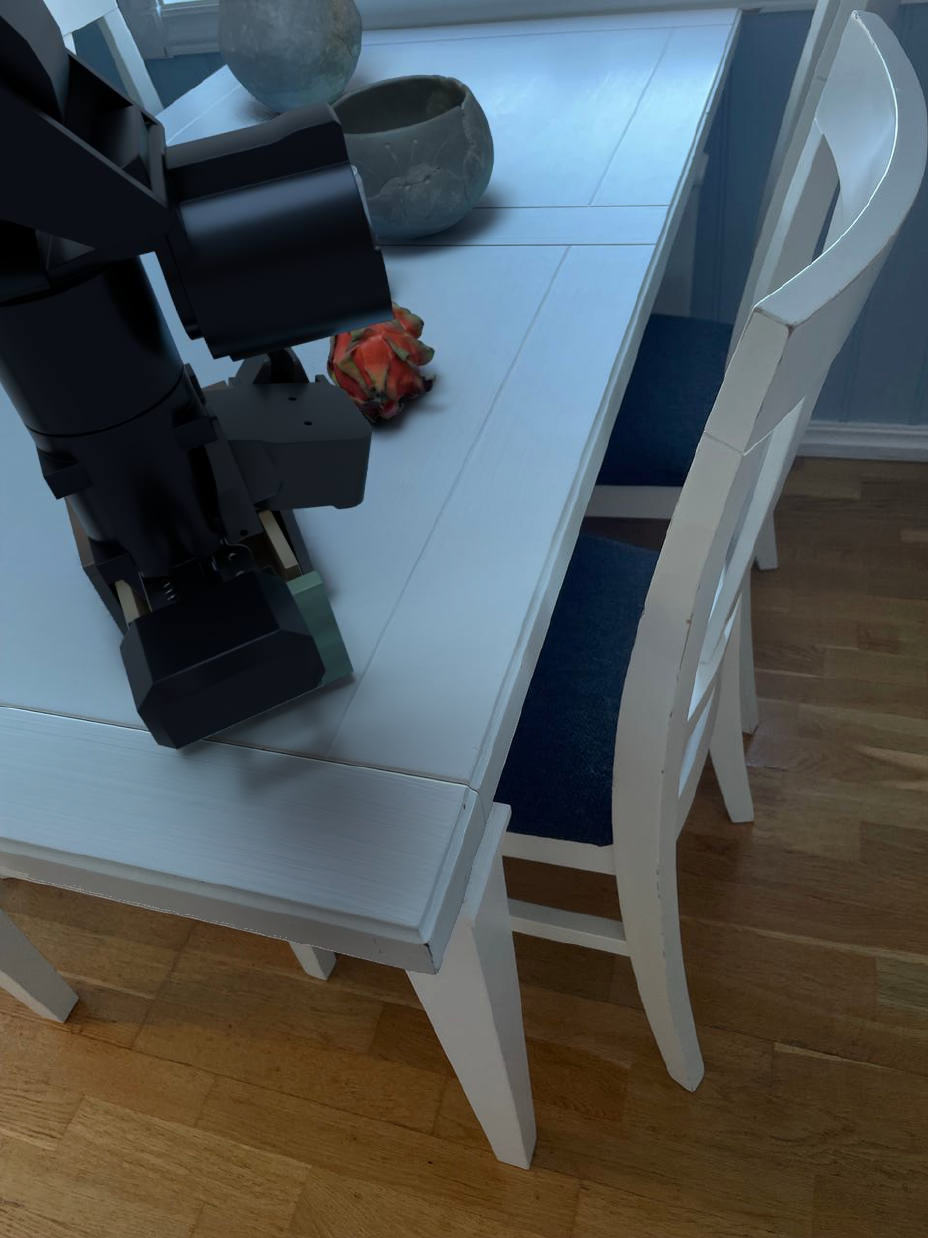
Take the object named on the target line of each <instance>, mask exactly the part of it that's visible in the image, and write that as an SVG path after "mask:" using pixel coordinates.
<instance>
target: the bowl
mask: <svg viewBox="0 0 928 1238" xmlns="http://www.w3.org/2000/svg"><path fill="white" fill-rule="evenodd" d="M331 106H332V108H333V110H334V112H335V113H336V115H337V117H338V119H339V121H340V123H341V125H342V129H343V134H344V138H345V143H346V147H347V152H348V156H349V160H350V163H351V165H352V166H354V167H356V169H357V172H358V174H359V176H360V177H361V179H362V183H363V188H364V193H365V197H366V202H367V207H368V211H369V216H370V221H371V225H372V229H373V231H374V233H375V235H376V237H382V238H388V239H398V240H399V239H400V240H401V239H402V240H403V239H405V240H406V239H407V240H408V239H416V238H422V237H426V236H431V235H433V234H436V233H439V232H440V231H445V230H447V229H448V228H450V227H452V226H454V225H456V224H457V223H458V222H459V221H461V220H462V219H463V218H464V217H466V216H467V215H468V214H470V212H471V211H472V210H473V209H474V208H475V207H476V206H477V204H478V203H479V202H480V200H481V199H482V198H483V196H484V194H485V192H486V190H487V188H488V186H489V184H490V180H491V178H492V174H493V170H494V165H495V147H494V146H495V145H494V140H493V136H492V132H491V128H490V127H491V126H490V124H489V123H490V122H489V121H488V118H487V116H486V113H485V111H484V110H483V108H482V106H481V104H480V102H479V101H478V99H477V98H476V96H475V95H474V93H473V91H472V90H471V88H470V87H469V86H468V85H467V84H465V83H463V82H462V81H461V80H459V79H458V78H456V77H452V76H448V77H447V76H445V75H440V74H411V75H404V76H403V75H402V76H396V77H393V78H387V79H383V80H378V81H375V82H372V83H368V84H367V85H364V86H361V87H359V88H357V89H354V90H352V91H350V92H348V93H346V94H345V95H343V96H342V97H339V98H338V99H337V100H336V101H335V102H334V103H333V104H331Z"/></svg>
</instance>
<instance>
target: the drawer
mask: <svg viewBox="0 0 928 1238" xmlns="http://www.w3.org/2000/svg"><path fill="white" fill-rule="evenodd" d="M255 511H256V513H257V516H258V519H259V521H260V524H261V526H262V529H263V532H261V533H258V534H256V535H253V536H251V537H248V538H246V539H243V540H241V541H238V542H237V543H236V544H241V545H245V546H247V547H248V548H249V549H250V551H251V553H252V555H253V557H254V559H255V561H256V563H257V566H258V568H259V569H261V568H264V567H266V566H269V565H271V566H272V568H273V570H274V572H275V574H276V576H277V577H280V578H284V579H285V581H286V583H287V585H288V587H289V589H290V591H291V593H292V595H293V597H294V599H295V601H296V603H297V605H298V607H299V609H300V611H301V614H302V616H303V618H304V620H305V622H306V624H307V626H308V628H309V630H310V632H311V634H312V636H313V638H314V641H315V643H316V646H317V648H318V651H319V654H320V656H321V659H322V661H323V664H324V667H325V669H326V672H325V674H324V676H323V678H322V679H321V681H320V683H319V685H318V686H317V688H316V689H313V690H311V691H309V692H307V693H304V694H302V695H300V696H297V697H295V698H293V699H291V700H288V701H286V702H284V703H282V704H279V705H277V706H275V707H273V708H270V709H268V710H266V711H264V712H261V713H259V714H257V715H254V716H252V717H250V718H248V719H245V720H243V721H241V722H239V723H236V724H234V725H232V726H230V727H227V728H225V729H223V730H221V731H218V732H216V733H214V734H211V735H209V736H207V737H205V738H202V739H200V740H198V741H201V740H203V739H207V738H209V737H211V736H213V735H216V734H218V733H220V732H222V731H225V730H227V729H229V728H232V727H234V726H236V725H238V724H241V723H242V722H245V721H248V720H250V719H252V718H254V717H256V716H259V715H261V714H264V713H266V712H268V711H270V710H272V709H274V708H277V707H279V706H281V705H283V704H286V703H288V702H290V701H293V700H295V699H297V698H299V697H301V696H303V695H306V694H308V693H310V692H312V691H315V690H317V689H319V688H322V687H324V686H325V685H327V684H329V683H332V682H334V681H336V680H339V679H340V678H343V677H345V676H348V675H350V674H352V673H355V670H354V668H353V664H352V662H351V659H350V656H349V653H348V649H347V647H346V645H345V641H344V639H343V636H342V633H341V630H340V627H339V625H338V621H337V619H336V616H335V613H334V610H333V607H332V605H331V602H330V599H329V596H328V592H327V590H326V588H325V584H324V582H323V580H322V578H321V576H320V575H319V572H318V571H317V570H316V569H314V571H312V572H310V573H308V574H305V575H302V572H301V570H300V567H299V564H298V562H297V560H296V558H295V556H294V554H293V553H292V551H291V549H290V547H289V545H288V543H287V541H286V539H285V537H284V535H283V533H282V532H281V530H280V528H279V526H278V524H277V522H276V520H275V518H274V516H273V514H272V512H271V511H269V510H263V509H258V510H255ZM115 585H116V589H117V592H118V595H119V599H120V602H121V606H122V609H123V612H124V616H125V619H126V623H127V626H128V623H129V622H132V621H133V620H134V619H135V618H138V617H140V616H143V615H145V614H148V613H150V612H151V610H150V607H149V604H148V601H147V600H145V599H144V598H143V597H142V596H141V595H139V594H138V593H137V592H136V591H135V590H133V589H132V588H131V587H130V586H129V585H127V584H126V583H125V582H124V581H123V580H120V581H118V582H115ZM128 629H129V626H128ZM119 653H120V657H121V661H122V664H123V667H124V668H125V666H124V663H123V659H122V655H121V652H120V651H119ZM198 741H197V742H198ZM194 743H195V742H193V743H191V744H189V745H192V744H194ZM189 745H188V746H189ZM185 747H186V746H184V747H182V748H180V749H183V748H185ZM180 749H175V750H176V751H178V750H180Z"/></svg>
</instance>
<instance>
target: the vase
mask: <svg viewBox="0 0 928 1238" xmlns="http://www.w3.org/2000/svg"><path fill="white" fill-rule="evenodd" d="M217 12H218V13H217V27H216V29H217V30H216V31H217V33H216V35H217V36H216V39H217V46H218V50H219V52H220V55H221V57H222V59H223V60H224V63H225V64H226V67H227V68H228V69H229V71H230V72H231V73H232V75H233V76H234V78H235V79H236V80H237V81H238V83H239V84H240V85H241V86H242V87H243V88H244V89H245V90H246V91H247V92H248V93H249V94H250V95H251V96H252V97H253V98H254V99H256V100H257V101H258V102H260V103H261V104H262V105H264V106H265V107H267V108H269V109H270V110H271V111H274V112H275V113H277V114H279V115H281V114H282V113H284V112H286V111H289V110H292V109H295V108H298V107H302V106H306V105H310V104H314V103H318V102H323V101H325V102H326V103H328V104H329V105H332V104H333V103H334V102H336V101H337V100H339V99H340V98H341V95H342V94H343V92H344V91H345V89H346V87H347V86H348V84H349V82H350V80H351V79H352V77H353V76H354V73H355V71H356V68H357V66H358V63H359V59H360V56H361V52H362V39H363V20H362V16H361V13H360V10H359V8H358V6H357V4H356V2H355V0H218V11H217Z"/></svg>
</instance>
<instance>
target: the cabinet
mask: <svg viewBox="0 0 928 1238" xmlns="http://www.w3.org/2000/svg"><path fill="white" fill-rule="evenodd" d="M201 389H202V391H210V390H219V389H228V382H226V380H225V379H223V380H220V381H218V382H215V383H212V384H209V385H207V386H204V387H201ZM63 499H64V502H65V507H66V510H67V511H66V512H67V514H68V518H69V522H70V527H71V530H72V533H73V538H74V542H75V546H76V549H77V554H78V557H79V560H80V564H81V565H80V566H81V567H82V570H83V572H84V573H85V575H86V577H87V578H88V580H89V581H90V583H91V585H92V586H93V588H94V589H95V591H96V593H97V595H98V596H99V598H100V600H101V601H102V603H103V604H104V606H105V608H106V610H107V611H108V613H109V614H110V616H111V618H112V619H113V621H114V623H115V624H116V626H117V628H118V630H119V631H120V633H121V635H122V636H123V638H124V637H125V635H126V633H127V631H128V626H127V623H126V619H125V616H124V612H123V609H122V606H121V602H120V599H119V595H118V592H117V589H116V585H115V583H113V584H110V585H108V586H107V585H106V583H105V581H104V580H103V578H102V576H101V575H100V573H99V571H98V569H97V568H96V566H95V562H94V559H93V555H92V551H91V548H90V544H89V540H88V537H89V536H88V537H87V535H88V534H87V532H86V531H85V529H84V527H83V526H82V524H81V522H80V520H79V519H78V517H77V515H76V513H75V512H74V510H73V508H72V506H71V505H70V503H69V501H68V500H67V498H66V497H63ZM254 508H255V510H258V509H259V508H257V507H255V506H254ZM271 512H272V514H273V516H274V518H275V520H276V522H277V524H278V526H279V528H280V530H281V532H282V533H283V535H284V537H285V539H286V541H287V543H288V545H289V547H290V549H291V551H292V553H293V554H294V556H295V558H296V560H297V562H298V564H299V567H300V570H301V572H302V575H305V574H308V573H310V572H312V571H315V568H314V566H313V563H312V560H311V558H310V557H311V556H310V554H309V552H308V548H307V546H306V543H305V539H304V537H303V534H302V532H301V529H300V526H299V522H298V521H297V519H296V518H297V517H296V515H295V512H294V509H291V510H280V511H271Z"/></svg>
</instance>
